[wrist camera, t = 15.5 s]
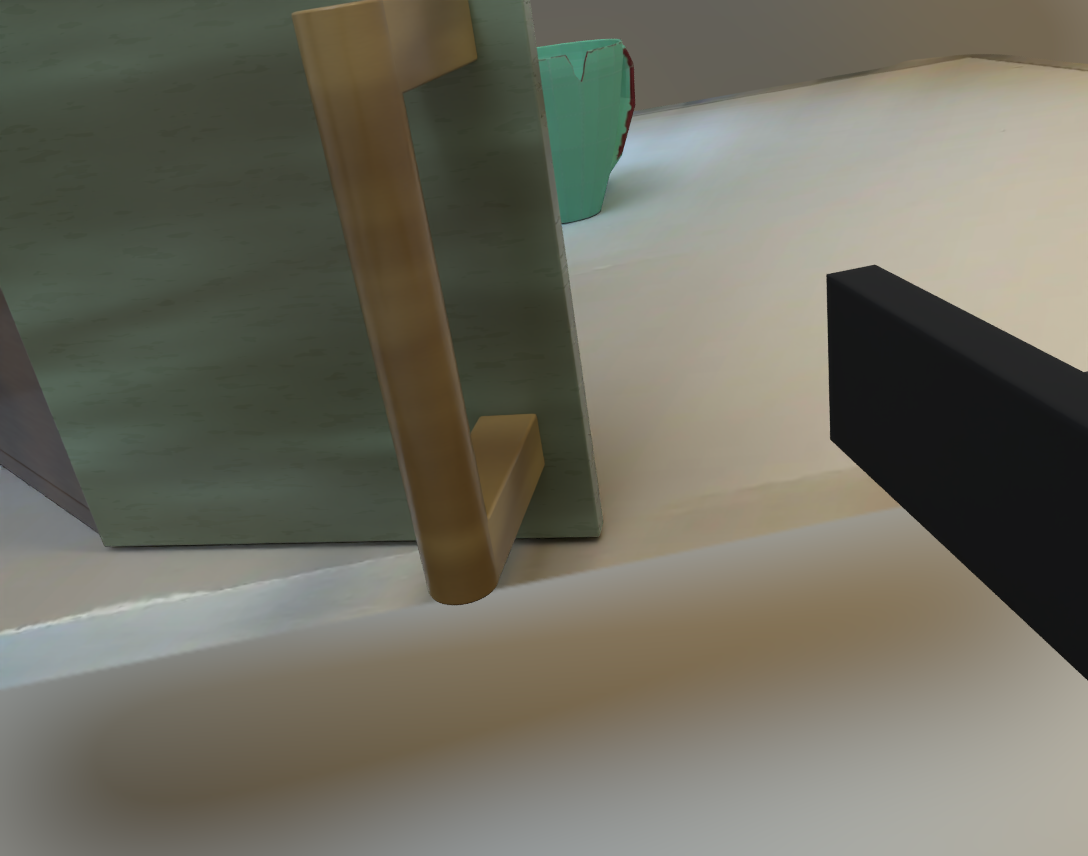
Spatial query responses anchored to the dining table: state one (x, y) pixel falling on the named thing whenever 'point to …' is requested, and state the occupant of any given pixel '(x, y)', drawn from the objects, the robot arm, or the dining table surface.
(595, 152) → the mug
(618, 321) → the dining table surface
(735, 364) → the dining table surface
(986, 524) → the robot arm
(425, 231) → the cupboard door
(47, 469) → the cupboard
